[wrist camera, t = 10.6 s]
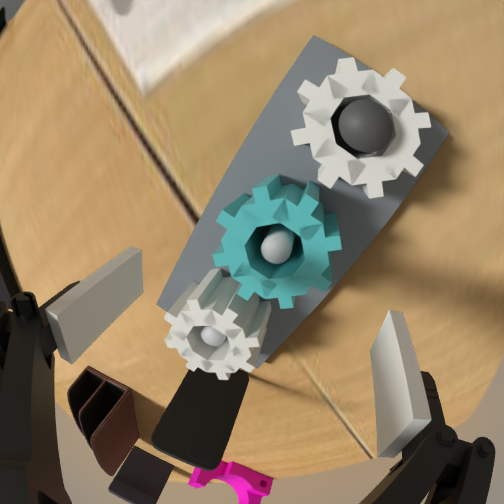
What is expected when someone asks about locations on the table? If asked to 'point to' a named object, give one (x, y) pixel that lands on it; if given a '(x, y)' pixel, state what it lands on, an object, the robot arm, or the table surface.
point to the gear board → (300, 173)
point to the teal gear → (252, 236)
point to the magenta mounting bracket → (236, 481)
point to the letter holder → (104, 417)
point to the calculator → (141, 478)
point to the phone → (201, 418)
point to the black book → (6, 279)
